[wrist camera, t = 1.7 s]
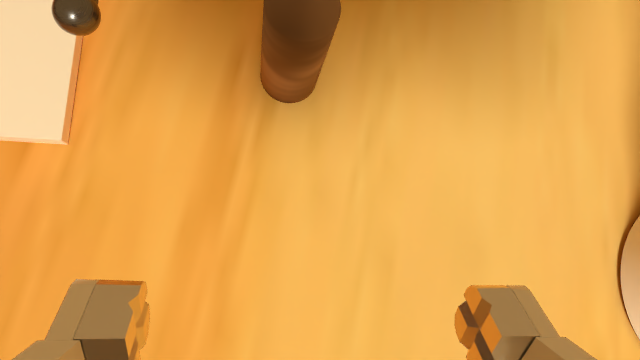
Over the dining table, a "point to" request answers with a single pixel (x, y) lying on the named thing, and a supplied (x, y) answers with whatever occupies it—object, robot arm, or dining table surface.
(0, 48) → the plate
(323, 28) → the walnut peg
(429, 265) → the dining table surface
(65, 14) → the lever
